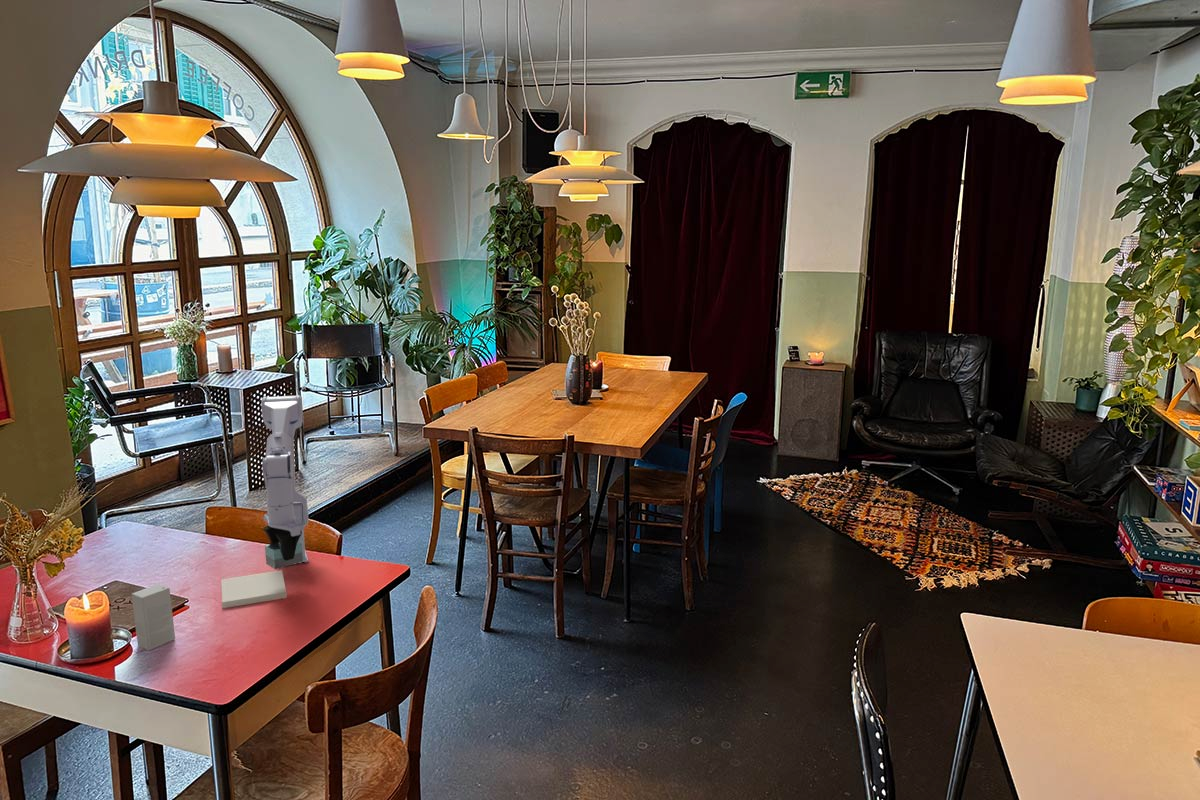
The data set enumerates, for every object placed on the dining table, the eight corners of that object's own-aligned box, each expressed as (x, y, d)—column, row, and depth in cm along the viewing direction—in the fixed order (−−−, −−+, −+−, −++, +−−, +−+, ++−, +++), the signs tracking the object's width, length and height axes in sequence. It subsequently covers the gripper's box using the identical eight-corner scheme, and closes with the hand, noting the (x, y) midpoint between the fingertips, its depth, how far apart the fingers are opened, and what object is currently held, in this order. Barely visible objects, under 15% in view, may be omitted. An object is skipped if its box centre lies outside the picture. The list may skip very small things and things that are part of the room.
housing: (266, 564, 198) (264, 543, 197) (293, 556, 203) (292, 535, 202) (275, 569, 195) (273, 548, 194) (302, 561, 200) (301, 540, 199)
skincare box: (164, 634, 177) (158, 582, 174) (175, 639, 175) (170, 587, 172) (136, 646, 172) (130, 593, 169) (147, 651, 169) (142, 598, 167)
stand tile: (221, 585, 202) (221, 579, 201) (282, 575, 207) (281, 570, 207) (222, 608, 189) (222, 602, 189) (286, 597, 195) (286, 591, 195)
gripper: (310, 506, 194) (314, 559, 196) (282, 492, 203) (285, 544, 206) (282, 513, 189) (286, 568, 191) (254, 499, 198) (258, 551, 201)
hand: (284, 556), depth 198 cm, fingers closed on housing, 5 cm apart
